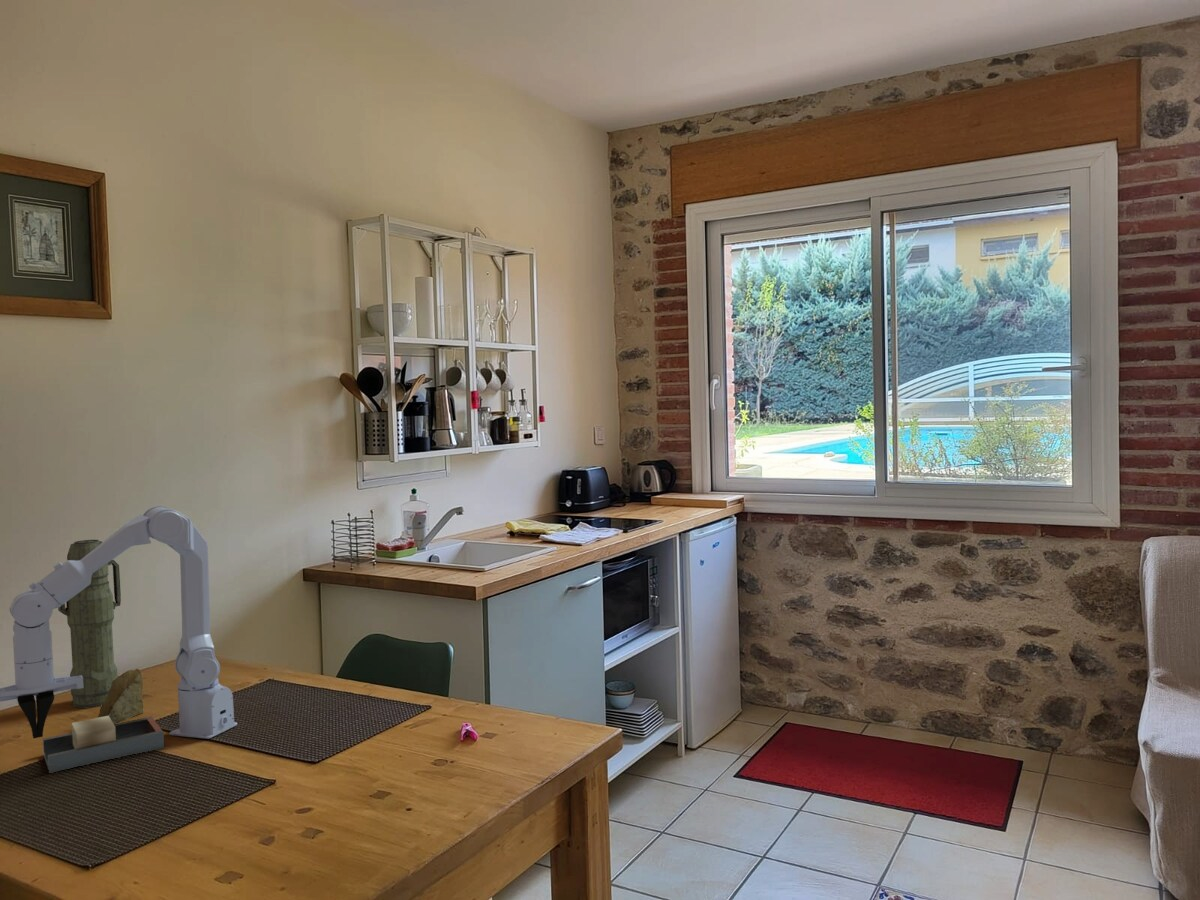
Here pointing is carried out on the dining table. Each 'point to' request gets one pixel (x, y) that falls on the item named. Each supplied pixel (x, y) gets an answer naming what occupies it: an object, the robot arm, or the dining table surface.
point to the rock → (124, 697)
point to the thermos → (92, 630)
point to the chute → (104, 745)
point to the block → (93, 732)
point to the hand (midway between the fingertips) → (37, 736)
